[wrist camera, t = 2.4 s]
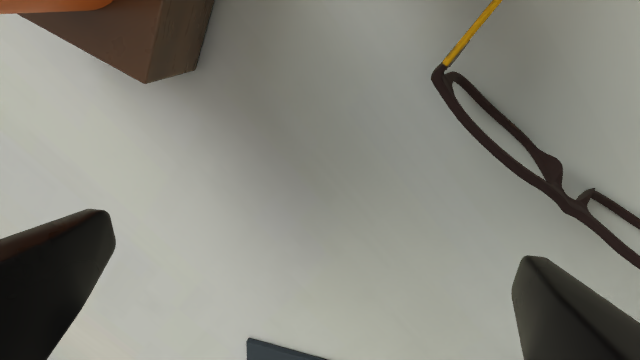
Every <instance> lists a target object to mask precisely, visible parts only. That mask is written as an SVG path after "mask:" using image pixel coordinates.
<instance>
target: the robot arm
mask: <svg viewBox="0 0 640 360" xmlns="http://www.w3.org/2000/svg"><path fill="white" fill-rule="evenodd" d="M115 245H116V240H115V235H114V231H113V227H112V223H111V218H110V215H109V214H108V212H106V211H104V210H96V209H86V210H83V211H80V212H77V213H74V214H72V215H69V216H66V217H63V218H60V219H57V220H54V221H51V222H49V223H46V224H43V225H40V226H37V227H34V228H31V229H28V230H26V231H23V232H20V233H17V234H14V235H11V236H8V237H5V238H2V239H0V360H47V358H48V357H49V355H50V354H51V353H52V351H53V350H54V348H55V347H56V345H57V344H58V342H59V341H60V340H61V338H62V337H63V335H64V334H65V332H66V331H67V330H68V328H69V327H70V325H71V324H72V322H73V321H74V319H75V318H76V317H77V315H78V313H79V312H80V310H81V309H82V307H83V306H84V304H85V302H86V301H87V299H88V297H89V295H90V294H91V292H92V290H93V288H94V286H95V285H96V283H97V281H98V279H99V277H100V276H101V274H102V272H103V270H104V268H105V267H106V265H107V263H108V261H109V259H110V258H111V256H112V254H113V252H114V249H115ZM512 301H513V306H514V311H515V316H516V321H517V326H518V331H519V336H520V341H521V347H522V352H523V356H524V360H640V323H639V322H637V321H636V320H634V319H633V318H632V317H630V316H629V315H627V314H626V313H624V312H623V311H622V310H620V309H619V308H617V307H616V306H614V305H613V304H612V303H610V302H609V301H607V300H606V299H604V298H603V297H602V296H600V295H599V294H597V293H596V292H594V291H593V290H592V289H590V288H589V287H587V286H586V285H584V284H583V283H582V282H580V281H579V280H577V279H576V278H574V277H573V276H572V275H570V274H569V273H567V272H566V271H564V270H563V269H562V268H560V267H559V266H557V265H556V264H554V263H553V262H552V261H550V260H549V259H547V258H545V257H538V256H528V255H527V256H524V257H523V258H522V260H521V262H520V264H519V267H518V270H517V273H516V276H515V279H514V282H513V286H512Z"/></svg>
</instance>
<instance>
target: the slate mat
mask: <svg viewBox="0 0 640 360" xmlns="http://www.w3.org/2000/svg"><path fill="white" fill-rule="evenodd" d="M247 360H326V359H322V358H319V357H315V356H312V355H308V354H305V353H301V352H298V351H294V350H290V349H287V348H283V347H280V346H276V345H273V344H269V343H266V342H262V341H258V340H255V339H251V338H249V339H248V340H247Z"/></svg>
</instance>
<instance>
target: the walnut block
mask: <svg viewBox="0 0 640 360" xmlns="http://www.w3.org/2000/svg"><path fill="white" fill-rule="evenodd" d="M213 3H214V0H113V1H112V2H111V3H110V4H108V5H106V6H104V7H102V8H100V9H97V10H90V11H68V12H41V13H17V14H18V15H20V16H22V17H24V18H26V19H28V20H29V21H31V22H33V23H35V24H37V25H38V26H40V27H42V28H44V29H46V30H47V31H49V32H51V33H53V34H55V35H57V36H58V37H60V38H62V39H64V40H66V41H67V42H69V43H71V44H73V45H75V46H76V47H78V48H80V49H82V50H84V51H86V52H87V53H89V54H91V55H93V56H95V57H96V58H98V59H100V60H102V61H104V62H105V63H107V64H109V65H111V66H113V67H115V68H116V69H118V70H120V71H122V72H124V73H125V74H127V75H129V76H131V77H133V78H135V79H136V80H138V81H140V82H142V83H144V84H147V83H151V82H155V81H158V80H162V79H165V78H169V77H172V76H176V75H179V74H183V73H186V72H190V71H194V70H195V68H196V65H197V61H198V57H199V54H200V50H201V47H202V43H203V39H204V36H205V32H206V28H207V25H208V21H209V17H210V14H211V10H212V7H213Z"/></svg>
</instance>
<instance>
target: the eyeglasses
mask: <svg viewBox="0 0 640 360" xmlns="http://www.w3.org/2000/svg"><path fill="white" fill-rule="evenodd" d="M501 1H502V0H493V1H492V2H491V3H490V4H489V5H488V7H487V8H486V9H485V10H484V11H483V13H482V14H481V15H480V16H479V17H478V19H477V20H476V21H475V22H474V24H473V25H472V26H471V27H470V28H469V30H468V31H467V32H466V33H465V35H464V36H463V37H462V38H461V39H460V41H459V42H458V43H457V44H456V46H455V47H454V48H453V49H452V50H451V52H450V53H449V54H448V55H447V56H446V58H445V59H444V60H443V62H442V63H441V64H440V65H439V66H438V67H437V68H436V69H435V70H434V71H433V73H432V75H431V81H432V82H433V84H434V86H435V87H436V89H437V90H438V92H439V93H440V95H441V96H442V98H443V99H444V101H445V102H446V104H447V105H448V107H449V108H450V110H451V111H452V112H453V114H454V115H455V116H456V118H457V119H458V120H459V121H460V122H461V124H462V125H463V126H464V127H465V128H466V129H467V130H468V131H469V132H470V133H471V134H472V135H473V136H474V137H475V138H476V139H477V140H478V141H479V142H480V143H481V144H482V145H483V146H484V147H485V148H486V149H487V150H488V151H489V152H490V153H491V154H492V155H493V156H495V157H496V158H497V159H498V160H499V161H500V162H502V163H503V164H504V165H505V166H506V167H507V168H509V169H510V170H511V171H512V172H514V173H515V174H516V175H517V176H519V177H520V178H522V179H523V180H525V181H526V182H528V183H529V184H531V185H533V186H534V187H536V188H538V189H539V190H541V191H542V192H544V193H545V194H546V195H548V196H549V197H550V198H551V199H552V200H554V201H555V202H556V203H557V204H558V206H559V207H560V208H561V210H562V211H563V212H564V213H566V214H568V215H570V216H572V217H575V218H576V219H578V220H579V221H581V222H582V223H584V224H585V225H586V226H588V227H589V228H590V229H592V230H593V231H594V232H595V233H596V234H597V235H599V236H600V237H601V238H602V239H603V240H604V241H605V242H606V243H607V244H608V245H609V246H610V247H612V248H613V249H614V250H615V251H616V252H617V253H618V254H620V255H621V256H622V257H624V258H625V259H626V260H628V261H629V262H630V263H632V264H633V265H634V266H636V267H637V268H639V269H640V256H639V255H638V254H637V253H635V252H634V251H633V250H632V249H630V248H629V247H628V246H626V245H625V244H624V243H623V242H622V241H621V240H619V239H618V238H617V237H616V236H615V235H614V234H613V233H612V232H610V231H609V230H608V229H607V228H606V227H605V226H604V225H602V224H601V223H600V222H599V221H598V220H597V219H595V218H594V217H593V216H592V215H591V214H590V212H589V211H588V208H587V204H588V202H589V200H590V198H592V199H594V200H595V201H597V202H599V203H600V204H602V205H604V206H605V207H607V208H608V209H610V210H611V211H613V212H614V213H616V214H617V215H619V216H620V217H622V218H623V219H625V220H626V221H627V222H629V223H630V224H632V225H634V226H635V227H637V228H638V229H640V219H639V218H638V217H636V216H635V215H633V214H632V213H630V212H629V211H627V210H626V209H624V208H623V207H621V206H620V205H618V204H617V203H615V202H614V201H612V200H610V199H609V198H607V197H606V196H604V195H602V194H601V193H599V192H597V191H595V188H592V189H588V190H586V191H584V192H583V193H582V194H580V195H579V196H578V198H577V199H576V200H574V199H572V198H570V197H569V196H568V195H567V194H566V193H565V192H564V190H563V188H562V176H563V167H562V164H561V163H560V161H559V160H558V159H557V158H555V157H553V156H551V155H548V154H546V153H544V152H543V151H541V150H540V149H538V148H537V147H536V146H535V145H534V144H533V143H532V141H531V140H530V139H529V138H528V137H527V136H526V135H525V134H524V133H523V132H522V131H521V130H519V129H518V128H517V127H516V126H515V125H514V124H513V123H512V122H511V121H510V120H509V119H507V118H506V117H505V116H504V115H503V114H502V113H501V112H500V111H499V110H497V109H496V108H495V107H494V106H493V105H492V104H491V103H490V102H489V101H488V100H487V99H486V98H485V97H484V96H483V95H482V94H481V93H480V92H479V91H478V90H477V89H476V88H475V87H474V86H473V85H472V84H471V83H470V82H469V81H468V80H467V79H466V78H465V77H464V76H462V75H461V74H459V73H457V72H449V73H447V74H444V71H445V70H447V68H448V67H450V66H451V64H452V63H453V62H454V61H455V60H456V59H457V58H458V56H459V55H460V53H461V52H462V51H463V49H464V48H465V47H466V45H467V44H468V43H469V41H470V39H471V38H472V36H473V35H474V34H475V33H476V32H477V30H478V29H479V28H480V27H481V25H482V24H483V23H484V22H485V21H486V19H487V18H488V17H489V16H490V15H491V13H492V12H493V11H494V10H495V9H496V7H497V6H498V5H499V4H500V3H501ZM453 82H456V83H457V84H459V85H460V86H461V87H462V88H463V89H464V90H465V91H466V92H467V93H468V94H469V95H470V96H471V97H472V98H473V99H474V100H475V101H476V102H477V103H478V104H479V105H480V106H481V107H482V108H483V109H484V110H485V111H486V112H487V113H488V114H489V115H490V116H492V117H493V118H494V119H495V120H496V121H497V122H498V123H499V124H501V125H502V126H503V127H504V128H505V129H506V130H507V131H508V132H510V133H511V134H512V135H513V136H514V137H515V138H516V139H517V140H518V141H519V142H520V143H521V144H522V145H523V146H524V147H525V148H526V149H527V151H528V152H529V153H530V155H531V156H532V158H533V159H534V161H535V162H536V164H537V166H538V167H539V169H540V171H541V172H542V174H543V176H544V178H545V180H546V181H545V180H544V179H542V178H540V177H539V176H537V175H536V174H534V173H533V172H531V171H530V170H528V169H527V168H526V167H524V166H523V165H522V164H520V163H519V162H518V161H516V160H515V159H514V158H513V157H511V156H510V155H509V154H508V153H506V152H505V151H504V150H503V149H502V148H500V147H499V146H498V145H497V144H496V143H495V142H494V141H493V140H492V139H491V138H490V137H488V136H487V135H486V134H485V133H484V132H483V131H482V130H481V129H480V128H479V127H478V126H477V125H476V124H475V122H474V121H473V120H472V119H471V118H470V117H469V115H468V114H467V113H466V112H465V111H464V109H463V108H462V106H461V105H460V104H459V102H458V101H457V99H456V97H455V95H454V91H453V87H452V83H453Z"/></svg>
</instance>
